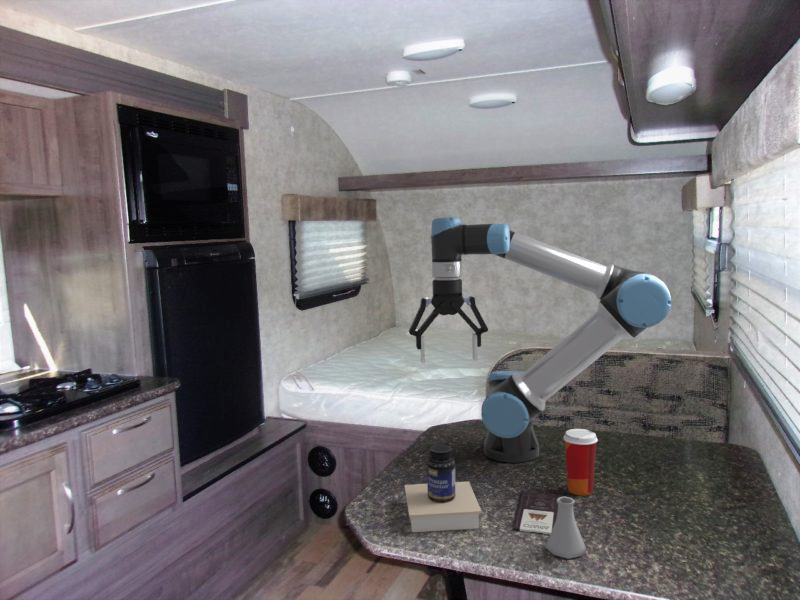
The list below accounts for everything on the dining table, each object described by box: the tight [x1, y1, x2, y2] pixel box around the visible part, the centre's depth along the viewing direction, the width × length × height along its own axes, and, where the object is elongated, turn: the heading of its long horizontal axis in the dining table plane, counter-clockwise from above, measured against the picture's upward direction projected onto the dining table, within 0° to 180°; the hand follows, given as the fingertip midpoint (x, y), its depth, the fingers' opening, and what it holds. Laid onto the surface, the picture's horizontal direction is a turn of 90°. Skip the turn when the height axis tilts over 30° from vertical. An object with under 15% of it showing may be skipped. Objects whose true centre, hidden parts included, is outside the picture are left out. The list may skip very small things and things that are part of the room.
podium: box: [404, 481, 482, 533], centre depth 130 cm, size 15×15×4 cm
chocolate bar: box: [512, 491, 563, 536], centre depth 130 cm, size 9×1×18 cm
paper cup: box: [563, 428, 599, 497], centre depth 139 cm, size 8×8×14 cm
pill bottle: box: [426, 444, 456, 502], centre depth 129 cm, size 6×6×11 cm
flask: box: [545, 495, 587, 560], centre depth 114 cm, size 7×7×10 cm
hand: (449, 360), depth 153 cm, fingers open, 13 cm apart
